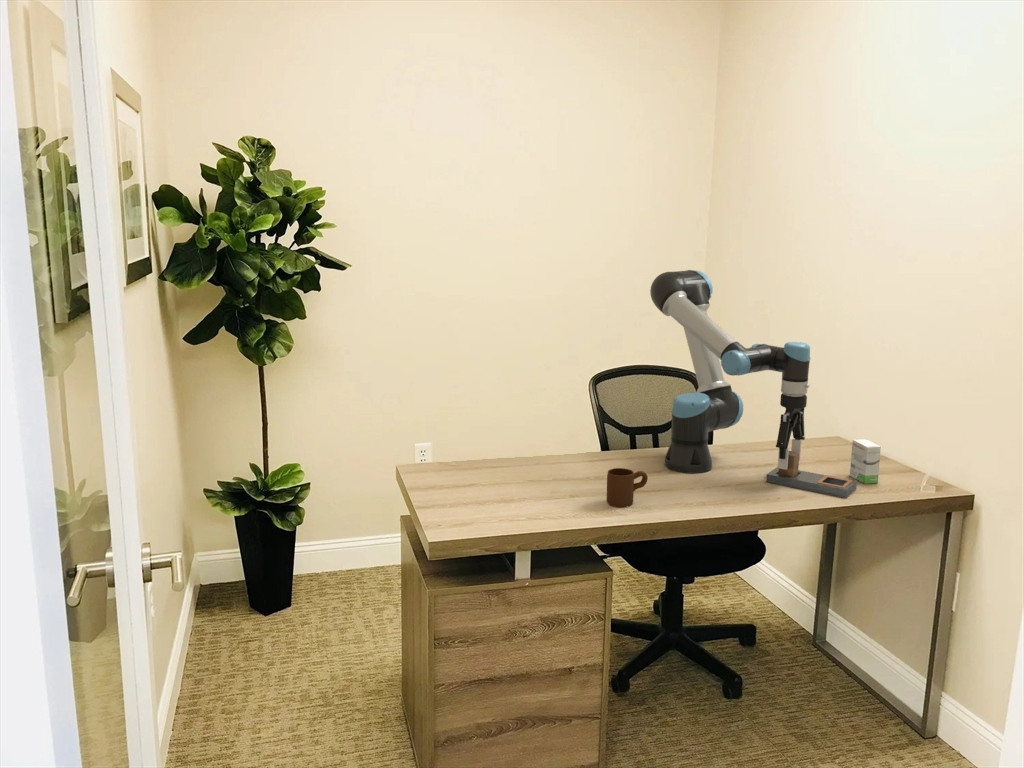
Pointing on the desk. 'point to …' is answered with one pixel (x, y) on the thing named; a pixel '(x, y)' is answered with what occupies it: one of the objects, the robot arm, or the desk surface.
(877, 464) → the ink box
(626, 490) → the mug
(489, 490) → the desk surface
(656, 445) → the desk surface
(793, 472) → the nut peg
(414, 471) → the desk surface
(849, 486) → the grey socket board
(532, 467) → the desk surface
